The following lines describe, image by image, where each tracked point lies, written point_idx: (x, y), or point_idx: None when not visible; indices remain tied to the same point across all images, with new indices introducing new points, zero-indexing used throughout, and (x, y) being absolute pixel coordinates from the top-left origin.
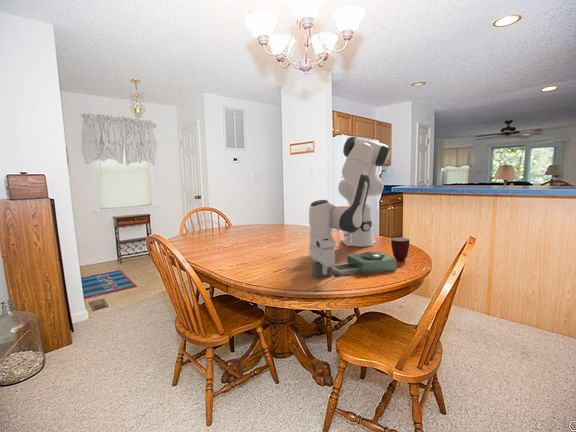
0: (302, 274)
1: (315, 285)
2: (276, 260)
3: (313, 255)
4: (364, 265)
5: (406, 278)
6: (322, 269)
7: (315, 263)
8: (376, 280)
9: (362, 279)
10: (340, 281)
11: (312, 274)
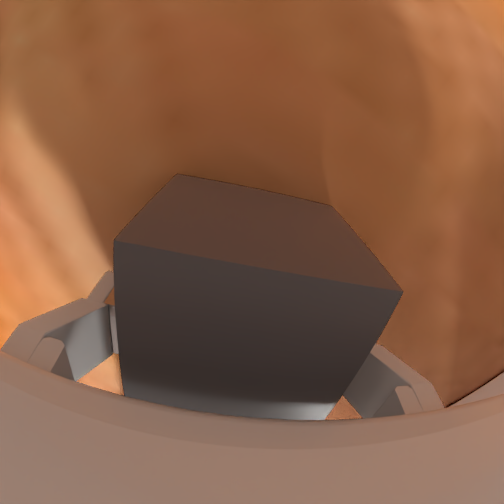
0: (409, 123)
1: (13, 81)
2: None
3: (471, 454)
4: None
5: None
6: (88, 308)
7: (333, 351)
8: None
9: None
10: (30, 316)
11: (306, 203)
